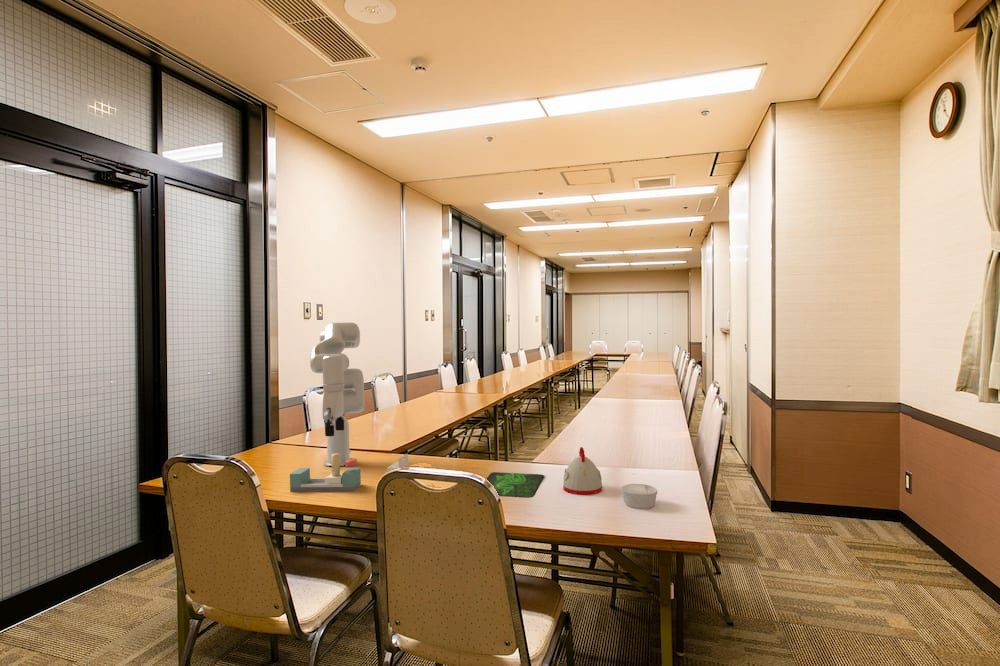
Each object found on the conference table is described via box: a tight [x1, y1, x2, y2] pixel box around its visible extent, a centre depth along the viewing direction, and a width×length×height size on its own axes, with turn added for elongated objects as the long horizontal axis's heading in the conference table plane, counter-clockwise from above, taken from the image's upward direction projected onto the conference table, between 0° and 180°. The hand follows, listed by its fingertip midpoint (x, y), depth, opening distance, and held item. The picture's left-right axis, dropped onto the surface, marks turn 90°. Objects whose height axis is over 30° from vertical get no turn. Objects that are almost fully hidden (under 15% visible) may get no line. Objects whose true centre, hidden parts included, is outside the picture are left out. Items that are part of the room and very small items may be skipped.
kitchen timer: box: [563, 446, 603, 496], centre depth 183 cm, size 14×14×15 cm
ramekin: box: [621, 483, 658, 510], centre depth 166 cm, size 11×11×5 cm
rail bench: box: [289, 467, 362, 492], centre depth 192 cm, size 8×24×6 cm, turn 86°
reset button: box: [345, 458, 358, 468], centre depth 191 cm, size 4×4×2 cm
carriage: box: [324, 453, 343, 484], centre depth 192 cm, size 6×6×11 cm
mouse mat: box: [485, 471, 545, 499], centre depth 190 cm, size 27×22×1 cm
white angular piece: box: [386, 453, 410, 473], centre depth 179 cm, size 9×5×15 cm, turn 168°
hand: (334, 433), depth 192 cm, fingers open, 9 cm apart
